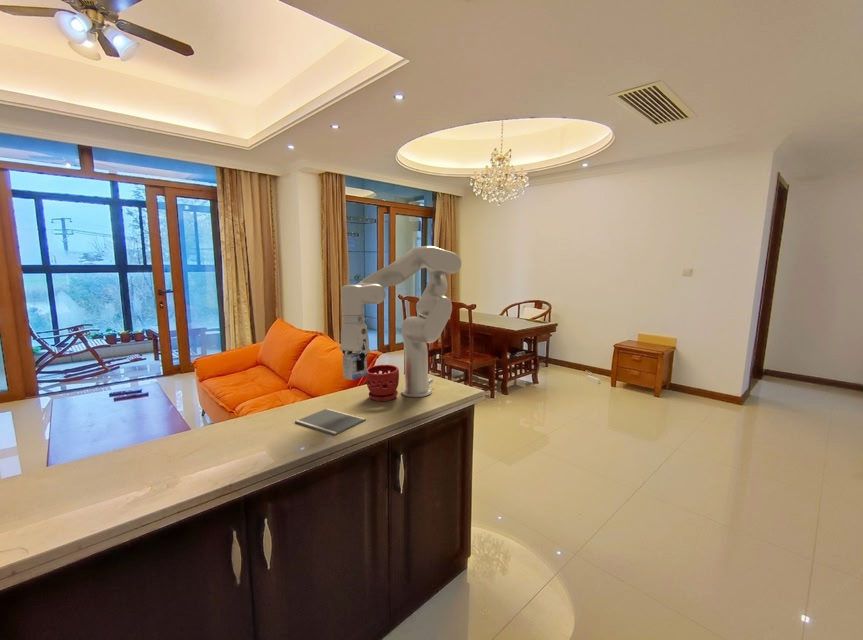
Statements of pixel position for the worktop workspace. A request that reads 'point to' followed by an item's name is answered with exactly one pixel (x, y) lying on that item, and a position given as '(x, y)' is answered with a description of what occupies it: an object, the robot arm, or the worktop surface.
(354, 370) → the medicine box
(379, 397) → the plant pot
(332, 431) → the mat
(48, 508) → the worktop surface
